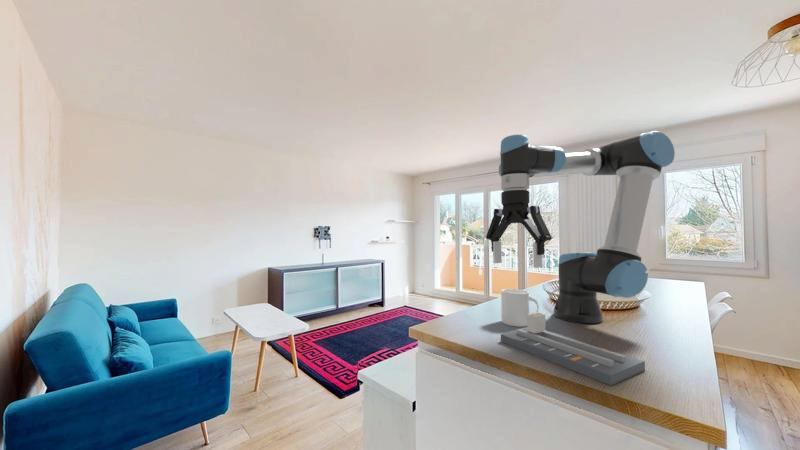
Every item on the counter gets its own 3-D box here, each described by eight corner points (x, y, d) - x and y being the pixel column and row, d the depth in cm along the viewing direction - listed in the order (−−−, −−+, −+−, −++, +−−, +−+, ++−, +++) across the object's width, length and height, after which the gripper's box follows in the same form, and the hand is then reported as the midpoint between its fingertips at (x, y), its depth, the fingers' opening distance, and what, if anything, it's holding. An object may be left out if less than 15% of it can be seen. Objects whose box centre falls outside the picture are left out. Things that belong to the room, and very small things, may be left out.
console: (533, 333, 92) (533, 322, 92) (644, 370, 68) (644, 355, 68) (500, 341, 85) (500, 329, 85) (610, 385, 61) (610, 369, 61)
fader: (537, 332, 85) (537, 312, 86) (545, 335, 83) (545, 314, 84) (527, 335, 83) (527, 314, 83) (534, 338, 81) (534, 316, 81)
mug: (544, 327, 98) (543, 293, 98) (505, 327, 98) (505, 293, 98) (533, 320, 106) (533, 289, 106) (498, 319, 107) (498, 288, 107)
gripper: (473, 194, 97) (474, 262, 96) (547, 183, 75) (549, 270, 75) (490, 195, 101) (491, 260, 100) (565, 185, 79) (566, 268, 79)
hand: (516, 265), depth 88 cm, fingers open, 13 cm apart
